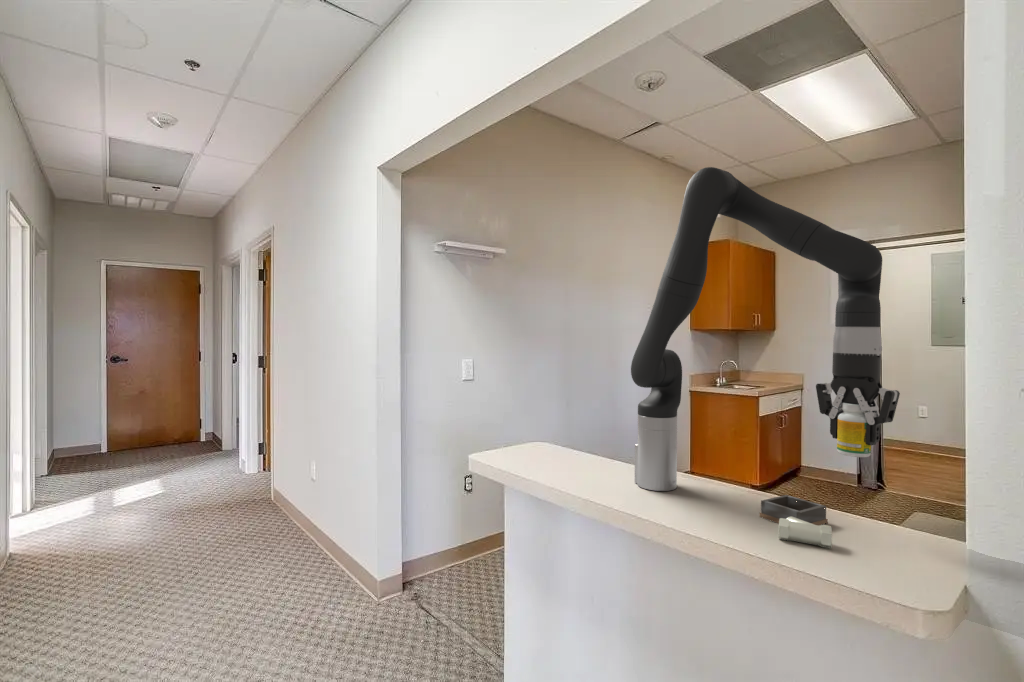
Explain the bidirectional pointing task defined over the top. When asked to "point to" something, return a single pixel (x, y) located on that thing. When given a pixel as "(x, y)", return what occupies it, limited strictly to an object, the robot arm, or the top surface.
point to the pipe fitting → (805, 532)
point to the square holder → (793, 510)
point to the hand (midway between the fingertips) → (853, 441)
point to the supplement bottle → (852, 432)
